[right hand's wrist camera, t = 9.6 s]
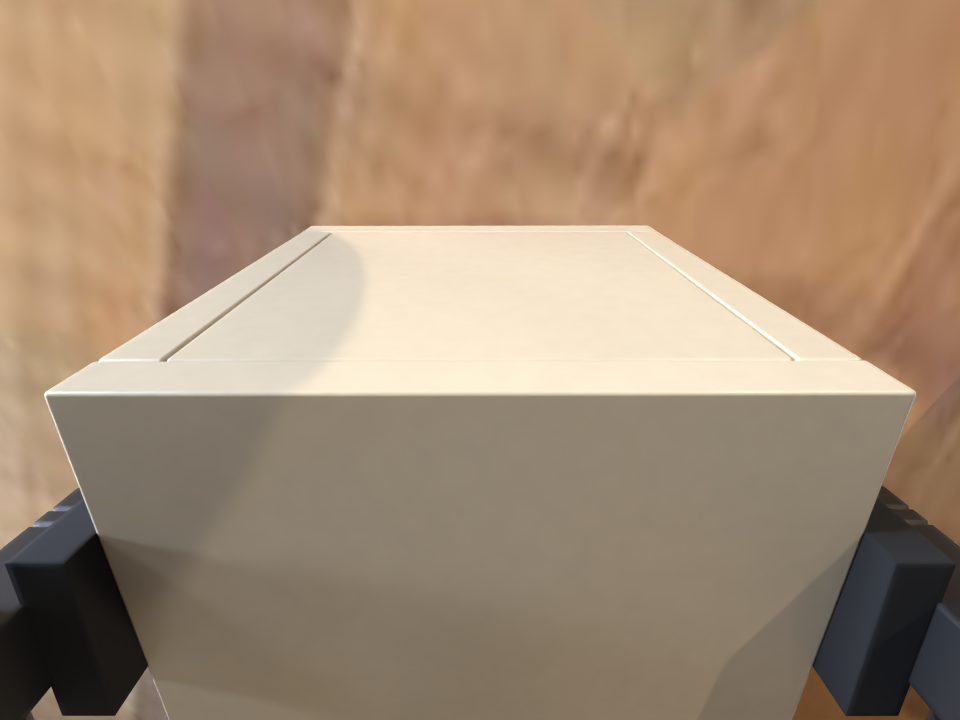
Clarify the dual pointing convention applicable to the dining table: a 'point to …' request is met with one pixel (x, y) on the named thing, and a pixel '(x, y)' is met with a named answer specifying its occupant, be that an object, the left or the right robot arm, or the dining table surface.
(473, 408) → the cabinet
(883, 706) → the right robot arm
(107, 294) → the dining table surface
